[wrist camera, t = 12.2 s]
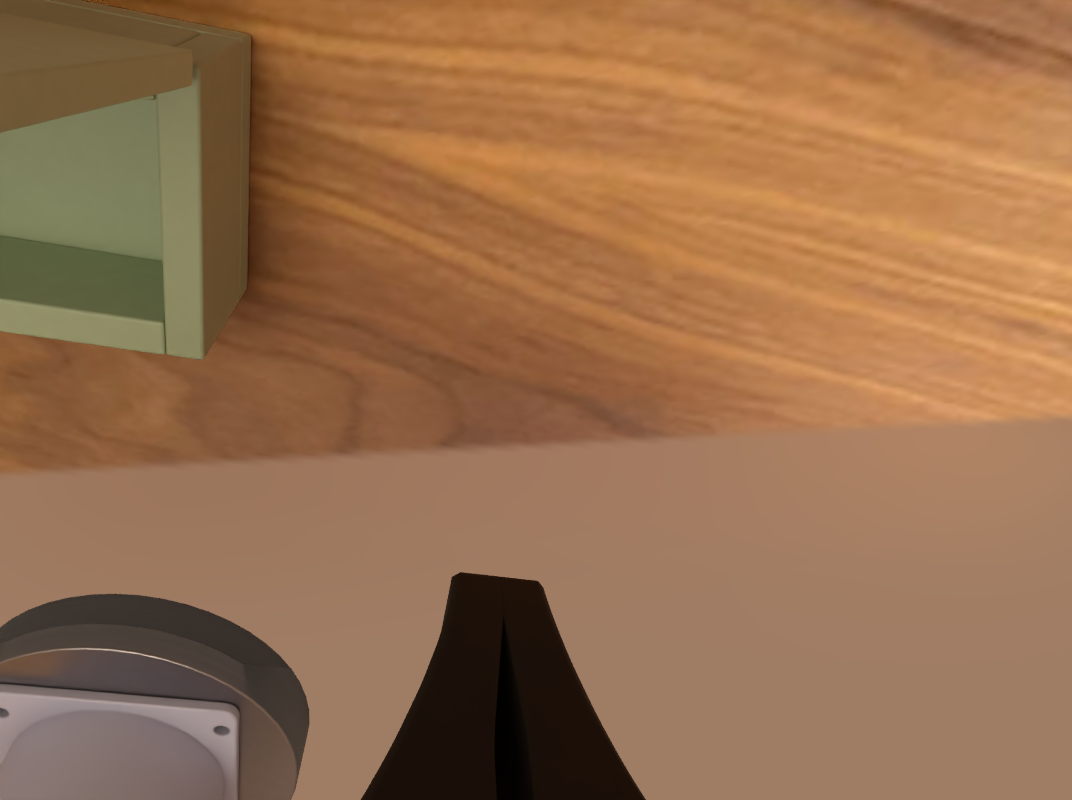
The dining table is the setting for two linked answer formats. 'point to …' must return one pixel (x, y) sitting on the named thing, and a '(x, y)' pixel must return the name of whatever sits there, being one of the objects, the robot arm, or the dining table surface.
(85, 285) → the box
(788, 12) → the dining table surface
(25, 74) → the lid
